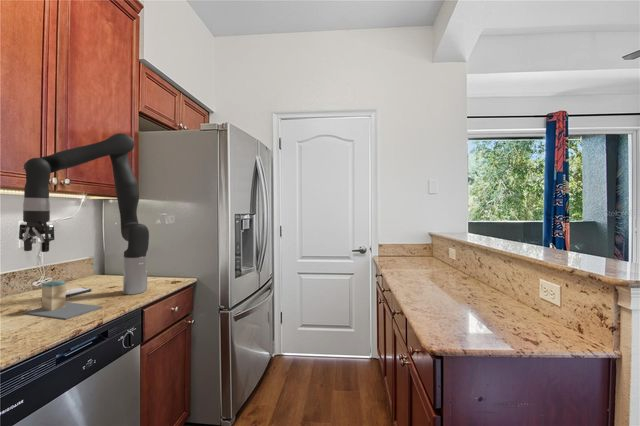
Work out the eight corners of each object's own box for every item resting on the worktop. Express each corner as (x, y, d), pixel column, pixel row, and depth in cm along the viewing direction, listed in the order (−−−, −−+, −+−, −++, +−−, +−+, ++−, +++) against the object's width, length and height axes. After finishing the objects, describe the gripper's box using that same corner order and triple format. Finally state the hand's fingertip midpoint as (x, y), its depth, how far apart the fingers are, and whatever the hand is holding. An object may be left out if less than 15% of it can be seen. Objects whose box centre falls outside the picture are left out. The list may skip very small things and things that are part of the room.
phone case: (54, 301, 128) (92, 291, 143) (54, 298, 128) (92, 288, 143) (40, 299, 130) (79, 290, 146) (40, 296, 130) (79, 286, 146)
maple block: (55, 305, 119) (56, 280, 119) (65, 306, 118) (65, 281, 118) (41, 309, 115) (42, 283, 115) (51, 310, 113) (51, 284, 113)
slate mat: (63, 302, 124) (63, 301, 124) (103, 307, 120) (103, 306, 120) (22, 313, 111) (22, 312, 111) (66, 319, 106) (66, 318, 106)
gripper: (61, 210, 117) (61, 250, 117) (33, 209, 120) (33, 249, 120) (40, 210, 110) (39, 253, 110) (10, 209, 113) (10, 251, 113)
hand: (36, 251), depth 115 cm, fingers open, 8 cm apart
